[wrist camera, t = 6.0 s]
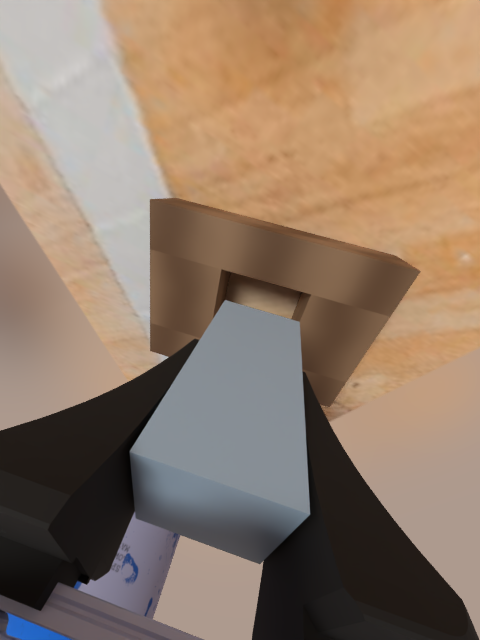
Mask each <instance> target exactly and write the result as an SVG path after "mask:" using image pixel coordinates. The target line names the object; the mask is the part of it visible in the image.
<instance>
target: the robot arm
mask: <svg viewBox="0 0 480 640" xmlns="http://www.w3.org/2000/svg"><path fill="white" fill-rule="evenodd" d="M198 342H199V340H198V339H193V340H192V341H191V342H189V343H188V344H187V345H185V346H184V347H183V348H181V349H180V350H179V351H177V352H176V353H174V354H173V355H172V356H170V357H169V358H167V359H166V360H164V361H163V362H161V363H160V364H158V365H157V366H155V367H153V368H152V369H150V370H148V371H147V372H145V373H143V374H142V375H140V376H138V377H136V378H135V379H133V380H131V381H129V382H127V383H125V384H123V385H121V386H119V387H117V388H115V389H113V390H111V391H109V392H106V393H104V394H102V395H100V396H98V397H95V398H93V399H91V400H88V401H86V402H83V403H81V404H78V405H75V406H73V407H70V408H68V409H65V410H62V411H60V412H57V413H54V414H51V415H49V416H46V417H43V418H40V419H37V420H33V421H31V422H27V423H24V424H21V425H17V426H14V427H11V428H8V429H5V430H1V431H0V640H22V639H19V638H16V637H13V636H10V635H7V633H6V628H7V625H8V621H9V619H8V614H7V613H9V614H12V615H14V616H16V617H19V618H21V619H24V620H26V621H29V622H31V623H33V624H36V625H38V626H41V627H43V628H45V629H48V630H50V631H53V632H55V633H58V634H60V635H62V636H65V637H67V638H70V639H72V640H203V639H201V638H198V637H196V636H193V635H190V634H188V633H186V632H183V631H181V630H178V629H175V628H173V627H170V626H168V625H165V624H163V623H160V622H158V621H155V620H153V619H150V618H148V617H145V616H143V615H140V614H138V613H135V612H133V611H130V610H128V609H125V608H123V607H120V606H117V605H115V604H112V603H110V602H107V601H105V600H102V599H100V598H97V597H95V596H92V595H90V594H87V593H85V592H82V591H80V590H77V589H75V588H74V586H75V585H76V583H77V581H78V582H81V583H84V584H86V585H87V584H88V583H89V581H90V579H91V580H94V581H96V580H98V579H100V578H101V577H103V576H104V575H105V574H107V573H108V572H109V571H110V569H111V566H112V564H113V562H114V559H115V557H116V554H117V552H118V550H119V547H120V545H121V542H122V540H123V538H124V535H125V533H126V531H127V528H128V526H129V523H130V521H131V519H132V517H133V514H134V512H135V506H134V495H133V484H132V474H131V463H130V450H131V448H132V447H133V445H134V444H135V442H136V441H137V439H138V437H139V436H140V434H141V433H142V431H143V429H144V428H145V426H146V425H147V423H148V421H149V420H150V418H151V417H152V415H153V414H154V412H155V410H156V409H157V407H158V406H159V404H160V402H161V401H162V399H163V398H164V396H165V394H166V393H167V391H168V390H169V388H170V387H171V385H172V383H173V382H174V380H175V379H176V377H177V375H178V374H179V372H180V371H181V369H182V367H183V366H184V364H185V363H186V361H187V360H188V358H189V356H190V355H191V353H192V352H193V350H194V348H195V347H196V345H197V344H198ZM302 373H303V392H304V410H305V429H306V447H307V466H308V484H309V502H310V515H309V516H308V517H307V518H306V519H305V520H304V521H303V522H302V523H301V524H300V525H299V526H298V527H297V528H296V529H295V530H294V531H293V532H292V533H291V534H290V535H289V536H288V537H287V538H286V539H285V540H284V541H283V542H282V543H281V544H280V545H279V546H278V547H277V548H276V549H275V550H274V551H273V552H272V553H271V554H270V555H269V556H268V557H267V558H266V559H265V560H264V562H263V570H262V577H261V583H260V590H259V597H258V603H257V609H256V616H255V622H254V628H253V634H252V640H479V638H478V636H477V633H476V631H475V629H474V626H473V624H472V621H471V619H470V616H469V614H468V612H467V609H466V607H465V605H464V603H463V601H462V599H461V598H460V597H459V596H458V595H457V594H456V592H455V591H454V590H453V589H452V588H451V587H450V586H449V585H448V583H447V582H446V581H445V580H444V579H443V578H442V576H441V575H440V574H439V573H438V572H437V571H436V570H435V568H434V567H433V566H432V565H431V564H430V563H429V562H428V561H427V559H426V558H425V557H424V556H423V555H422V554H421V552H420V551H419V550H418V549H417V548H416V546H415V545H414V544H413V543H412V542H411V540H410V539H409V538H408V537H407V536H406V534H405V533H404V532H403V530H401V528H400V527H399V526H398V524H397V523H396V522H395V521H394V519H393V518H392V517H391V516H390V514H389V513H388V512H387V510H386V509H385V508H384V506H383V505H382V504H381V502H380V501H379V500H378V498H377V497H376V496H375V494H374V493H373V491H372V490H371V489H370V487H369V486H368V485H367V484H366V482H365V480H364V479H363V478H362V476H361V475H360V473H359V472H358V470H357V469H356V467H355V466H354V464H353V463H352V461H351V460H350V458H349V456H348V455H347V453H346V452H345V450H344V449H343V447H342V445H341V443H340V442H339V440H338V438H337V436H336V435H335V433H334V432H333V429H332V428H331V426H330V424H329V422H328V420H327V418H326V416H325V414H324V412H323V410H322V408H321V406H320V404H319V402H318V399H317V397H316V395H315V393H314V391H313V388H312V386H311V384H310V381H309V379H308V377H307V375H306V373H305V372H303V371H302ZM6 612H7V613H6Z"/></svg>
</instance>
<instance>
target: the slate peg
mask: <svg viewBox="0 0 480 640" xmlns="http://www.w3.org/2000/svg"><path fill="white" fill-rule="evenodd" d="M130 463H131V474H132V484H133V495H134V506H135V517H136V519H138V520H141V521H144V522H147V523H149V524H152V525H155V526H157V527H160V528H163V529H166V530H168V531H171V532H174V533H176V534H179V535H182V536H185V537H187V538H190V539H193V540H196V541H198V542H201V543H204V544H206V545H209V546H212V547H215V548H217V549H220V550H223V551H226V552H228V553H231V554H234V555H237V556H239V557H242V558H244V559H247V560H250V561H253V562H256V563H258V564H261V562H263V561H264V560H265V559H266V558H267V557H268V556H269V555H270V554H271V553H272V552H273V551H274V550H275V549H276V548H277V547H278V546H279V545H280V544H281V543H282V542H283V541H284V540H285V539H286V538H287V537H288V536H289V535H290V534H291V533H292V532H293V531H294V530H295V529H296V528H297V527H298V526H299V525H300V524H301V523H302V522H303V521H304V520H305V519H306V518H307V517H308V516H309V515H310V502H309V484H308V466H307V447H306V429H305V410H304V392H303V373H302V355H301V336H300V322H299V321H295V320H292V319H288V318H285V317H282V316H278V315H275V314H271V313H268V312H264V311H261V310H258V309H254V308H251V307H247V306H244V305H241V304H237V303H234V302H230V301H227V300H225V301H224V302H223V304H222V305H221V307H220V309H219V310H218V312H217V313H216V315H215V317H214V318H213V320H212V321H211V323H210V325H209V326H208V328H207V329H206V331H205V333H204V334H203V336H202V337H201V339H200V340H199V342H198V344H197V345H196V347H195V348H194V350H193V352H192V353H191V355H190V356H189V358H188V360H187V361H186V363H185V364H184V366H183V367H182V369H181V371H180V372H179V374H178V375H177V377H176V379H175V380H174V382H173V383H172V385H171V387H170V388H169V390H168V391H167V393H166V394H165V396H164V398H163V399H162V401H161V402H160V404H159V406H158V407H157V409H156V410H155V412H154V414H153V415H152V417H151V418H150V420H149V421H148V423H147V425H146V426H145V428H144V429H143V431H142V433H141V434H140V436H139V437H138V439H137V441H136V442H135V444H134V445H133V447H132V448H131V450H130Z"/></svg>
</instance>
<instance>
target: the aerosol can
mask: <svg viewBox="0 0 480 640" xmlns="http://www.w3.org/2000/svg"><path fill="white" fill-rule="evenodd" d="M179 537H180V535H179V534H176V533H174V532H171V531H168V530H166V529H163V528H160V527H157V526H155V525H152V524H149V523H147V522H144V521H141V520H138V519H136V517H135V512H134V514H133V517H132V519H131V521H130V523H129V526H128V528H127V531H126V533H125V535H124V538H123V540H122V542H121V545H120V547H119V550H118V552H117V554H116V557H115V559H114V562H113V564H112V566H111V569H110V571H109V572H108V573H107V574H105V575H104V576H103V577H101V578H100V579H98V580H96V581H94V580H91V579H90V581H89V583H88V584H87V585H86V584H84V583H81V582H78V581H77V583H76V585H75V586H74V588H75V589H77V590H80V591H82V592H85V593H87V594H90V595H92V596H95V597H97V598H100V599H102V600H105V601H107V602H110V603H112V604H115V605H117V606H120V607H123V608H125V609H128V610H130V611H133V612H135V613H138V614H140V615H143V616H145V617H148V618H150V619H153V616H154V613H155V610H156V607H157V604H158V601H159V598H160V595H161V592H162V589H163V586H164V583H165V580H166V577H167V574H168V571H169V568H170V565H171V562H172V559H173V556H174V553H175V549H176V546H177V543H178V540H179ZM6 613H7V612H6ZM7 614H8V619H9V621H8V625H7V628H6V633H7V635H10V636H13V637H16V638H19V639H22V640H72V639H70V638H67V637H65V636H62V635H60V634H58V633H55V632H53V631H50V630H48V629H45V628H43V627H41V626H38V625H36V624H33V623H31V622H29V621H26V620H24V619H21V618H19V617H16V616H14V615H12V614H9V613H7Z"/></svg>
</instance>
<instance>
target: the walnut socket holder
mask: <svg viewBox="0 0 480 640" xmlns="http://www.w3.org/2000/svg"><path fill="white" fill-rule="evenodd" d="M230 272H233V273H236V274H240V275H244V276H247V277H251V278H254V279H258V280H261V281H265V282H268V283H272V284H275V285H279V286H283V287H286V288H290V289H293V290H297V291H300V292H302V294H301V296H300V299H299V301H298V304H297V306H296V309H295V311H294V314H293V316H292V320H295V321H299V322H300V336H301V355H302V371H303V372H305V373H306V375H307V377H308V379H309V381H310V384H311V386H312V388H313V391H314V393H315V395H316V397H317V399H318V402H319V404H321V405H325V406H328V407H330V405H331V404H332V403H333V401H334V400H335V398H336V397H337V395H338V394H339V392H340V391H341V389H342V388H343V386H344V385H345V383H346V382H347V380H348V379H349V377H350V376H351V374H352V373H353V371H354V370H355V368H356V367H357V365H358V364H359V362H360V361H361V359H362V358H363V356H364V355H365V353H366V352H367V350H368V349H369V347H370V346H371V344H372V343H373V341H374V340H375V338H376V337H377V335H378V334H379V333H380V331H381V330H382V328H383V327H384V325H385V324H386V322H387V321H388V319H389V318H390V316H391V315H392V313H393V312H394V310H395V309H396V307H397V306H398V304H399V303H400V301H401V300H402V298H403V297H404V295H405V294H406V292H407V291H408V289H409V288H410V286H411V285H412V283H413V282H414V280H415V279H416V277H417V276H418V274H419V273H420V271H419V270H418V269H416V268H415V267H413V266H411V265H410V264H408V263H407V262H405V261H403V260H402V259H400V258H398V257H397V256H394V255H391V254H387V253H383V252H379V251H375V250H372V249H368V248H364V247H360V246H356V245H353V244H349V243H345V242H341V241H337V240H334V239H330V238H326V237H322V236H318V235H315V234H311V233H307V232H303V231H299V230H296V229H292V228H288V227H284V226H280V225H277V224H273V223H269V222H265V221H261V220H258V219H254V218H250V217H246V216H242V215H239V214H235V213H231V212H227V211H223V210H220V209H216V208H212V207H208V206H204V205H201V204H197V203H193V202H189V201H185V200H182V199H178V198H168V199H150V351H152V352H156V353H159V354H162V355H165V356H168V357H170V356H172V355H173V354H174V353H176V352H177V351H179V350H180V349H181V348H183V347H184V346H185V345H187V344H188V343H189V342H191V341H192V340H193V339H198V340H200V339H201V337H202V336H203V334H204V333H205V331H206V329H207V328H208V326H209V325H210V323H211V321H212V320H213V318H214V317H215V315H216V313H217V312H218V310H219V309H220V307H221V305H222V304H223V302H224V301H225V297H226V292H227V287H228V282H229V277H230Z"/></svg>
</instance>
